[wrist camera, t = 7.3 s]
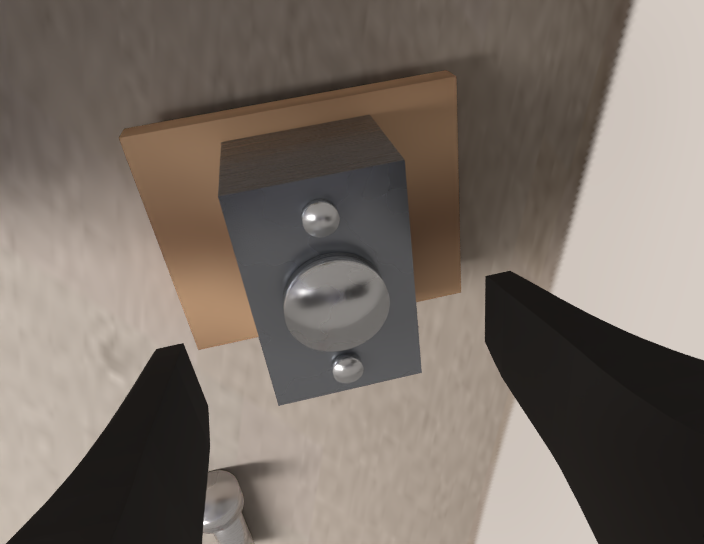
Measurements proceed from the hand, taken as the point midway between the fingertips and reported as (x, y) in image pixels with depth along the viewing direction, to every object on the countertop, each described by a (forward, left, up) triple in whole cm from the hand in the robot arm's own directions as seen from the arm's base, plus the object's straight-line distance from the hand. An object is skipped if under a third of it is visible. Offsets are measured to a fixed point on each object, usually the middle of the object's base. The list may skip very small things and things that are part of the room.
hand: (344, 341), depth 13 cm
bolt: (+17, -7, -8) cm, 20 cm away
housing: (0, 0, -6) cm, 6 cm away
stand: (0, 0, -8) cm, 8 cm away
